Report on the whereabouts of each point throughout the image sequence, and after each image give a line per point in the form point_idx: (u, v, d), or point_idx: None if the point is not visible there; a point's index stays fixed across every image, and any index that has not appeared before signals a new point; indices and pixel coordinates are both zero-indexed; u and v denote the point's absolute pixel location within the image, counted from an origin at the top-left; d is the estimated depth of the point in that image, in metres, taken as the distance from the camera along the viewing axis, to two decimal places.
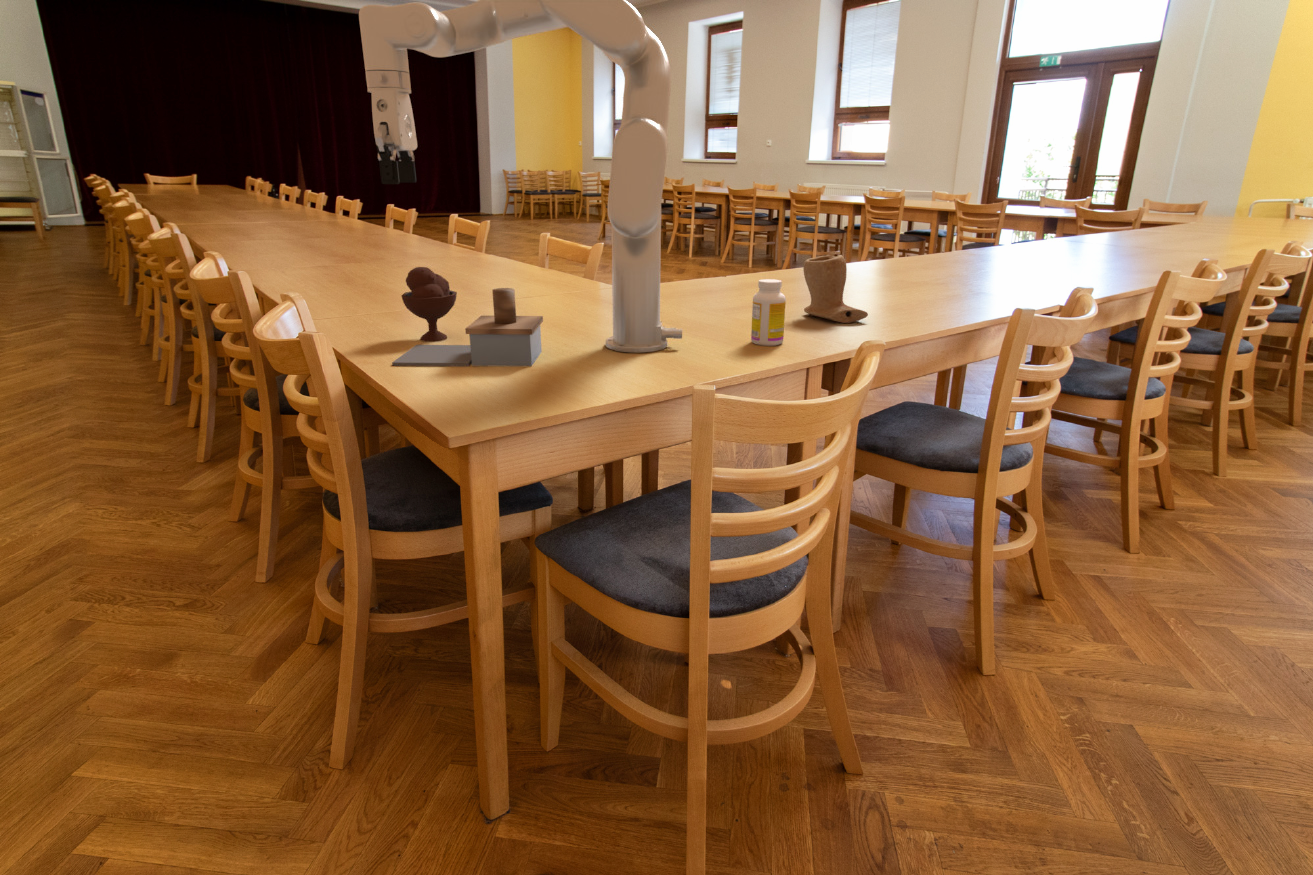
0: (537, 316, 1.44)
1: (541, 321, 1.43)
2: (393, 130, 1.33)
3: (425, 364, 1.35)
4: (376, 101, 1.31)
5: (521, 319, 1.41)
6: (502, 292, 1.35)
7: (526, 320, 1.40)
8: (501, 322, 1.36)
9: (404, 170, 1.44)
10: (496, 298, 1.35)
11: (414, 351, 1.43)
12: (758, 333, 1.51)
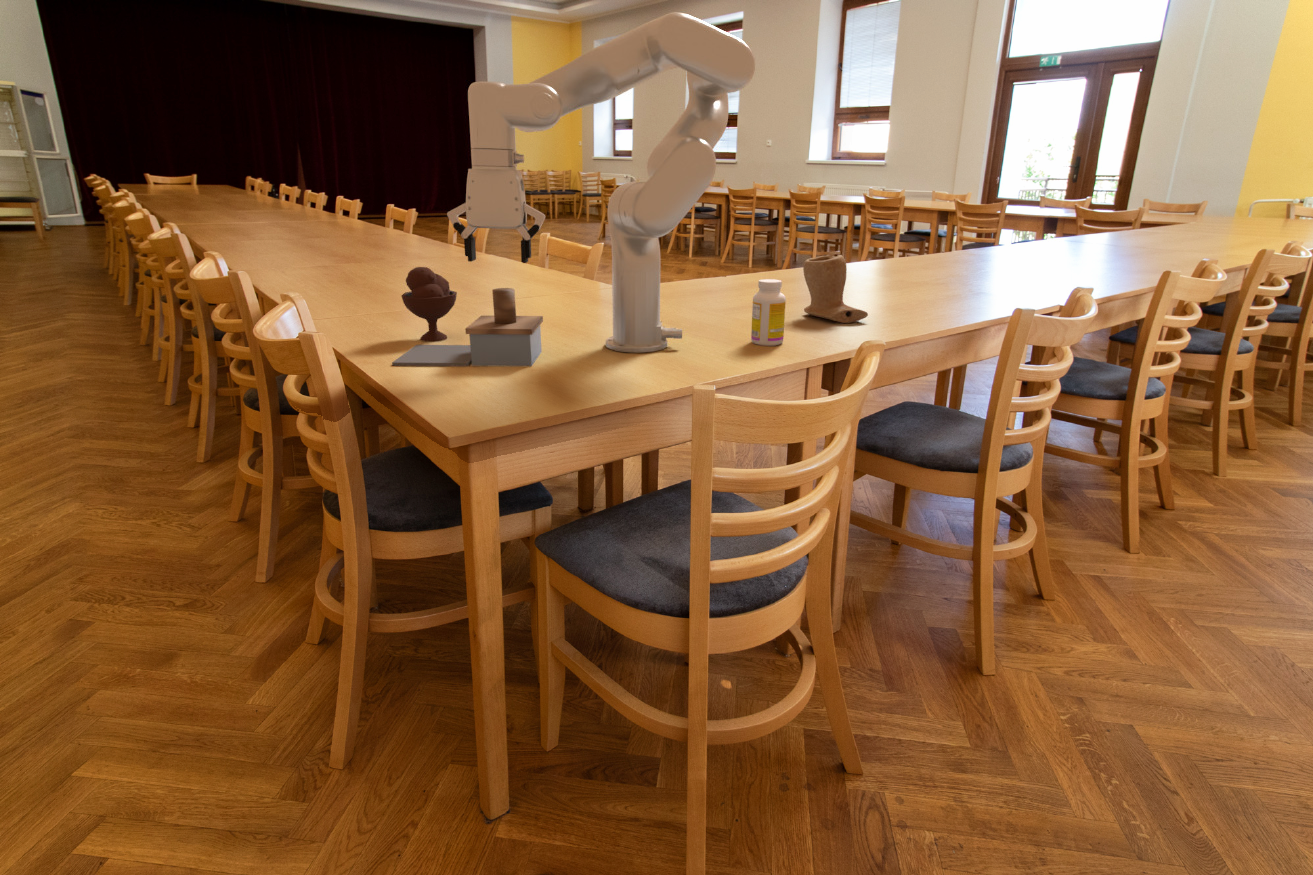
0: (537, 316, 1.44)
1: (541, 321, 1.43)
2: None
3: (425, 364, 1.35)
4: (519, 181, 1.29)
5: (521, 319, 1.41)
6: (502, 292, 1.35)
7: (526, 320, 1.40)
8: (501, 322, 1.36)
9: (473, 248, 1.33)
10: (496, 298, 1.35)
11: (414, 351, 1.43)
12: (758, 333, 1.51)
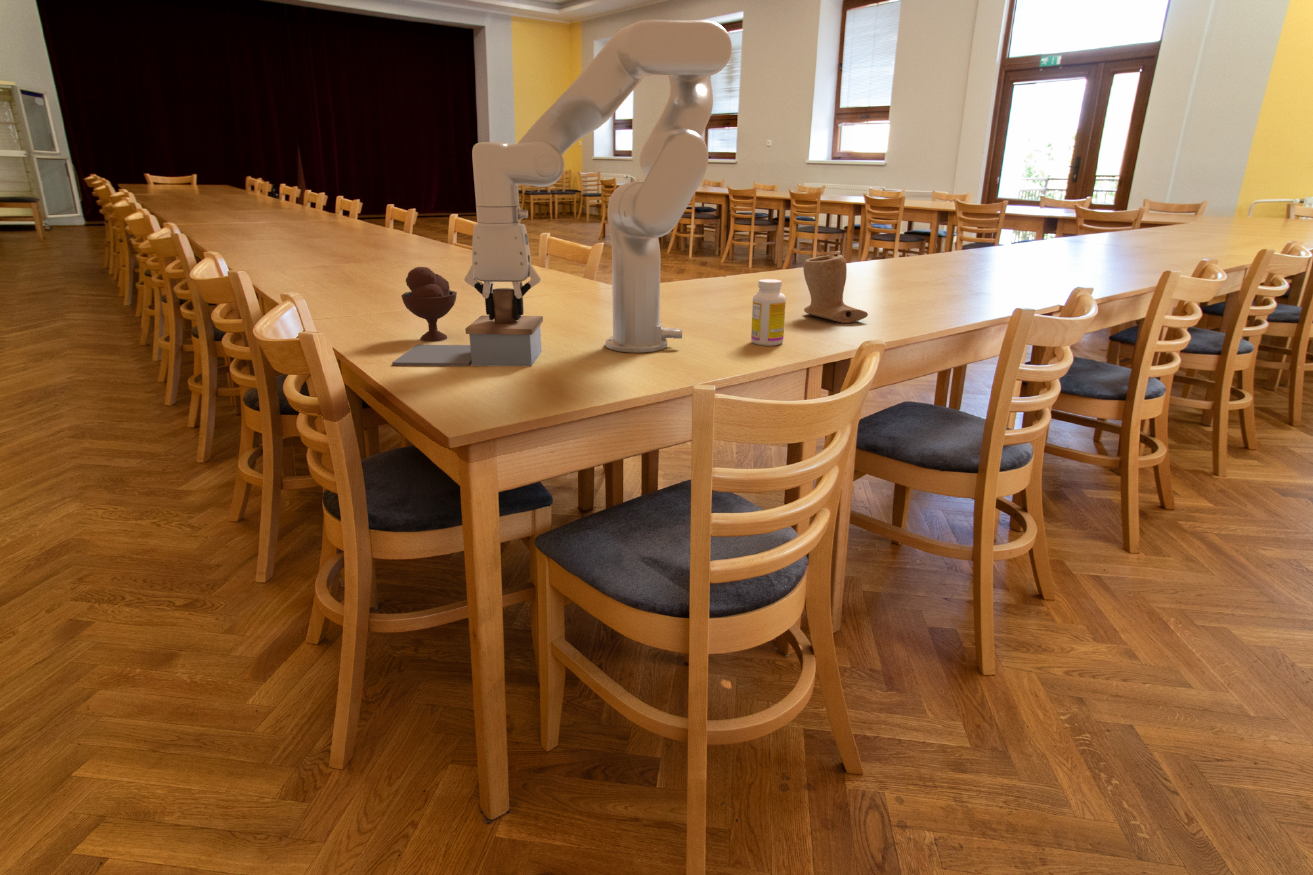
0: (537, 316, 1.44)
1: (541, 321, 1.43)
2: (530, 261, 1.36)
3: (425, 364, 1.35)
4: (524, 236, 1.32)
5: (521, 319, 1.41)
6: (502, 292, 1.35)
7: (526, 320, 1.40)
8: (501, 322, 1.36)
9: (493, 306, 1.37)
10: (496, 298, 1.35)
11: (414, 351, 1.43)
12: (758, 333, 1.51)
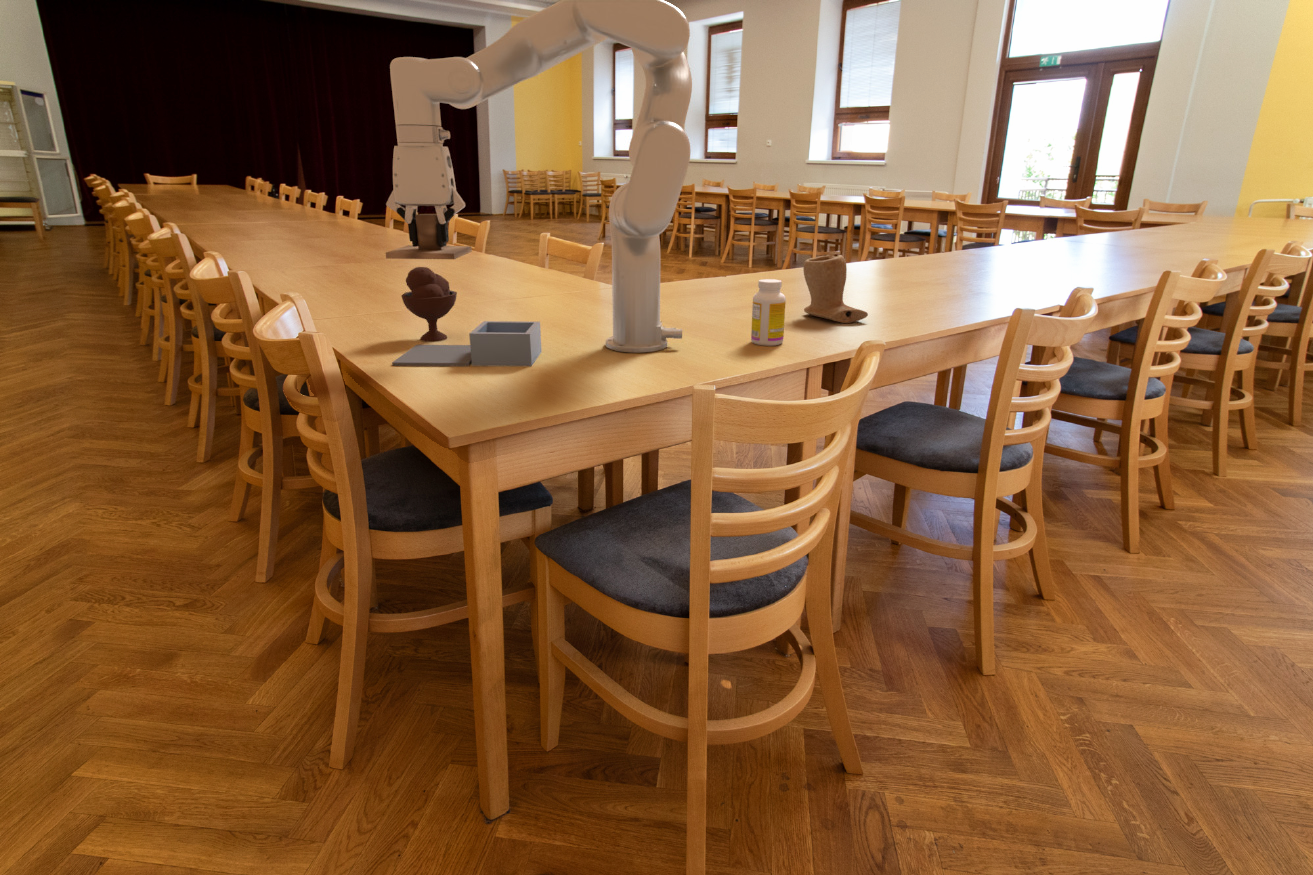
0: (465, 246, 1.40)
1: (469, 251, 1.39)
2: (455, 186, 1.33)
3: (425, 364, 1.35)
4: (446, 157, 1.28)
5: (447, 248, 1.37)
6: (424, 216, 1.31)
7: (452, 248, 1.36)
8: (424, 248, 1.33)
9: None
10: (419, 223, 1.32)
11: (414, 351, 1.43)
12: (758, 333, 1.51)
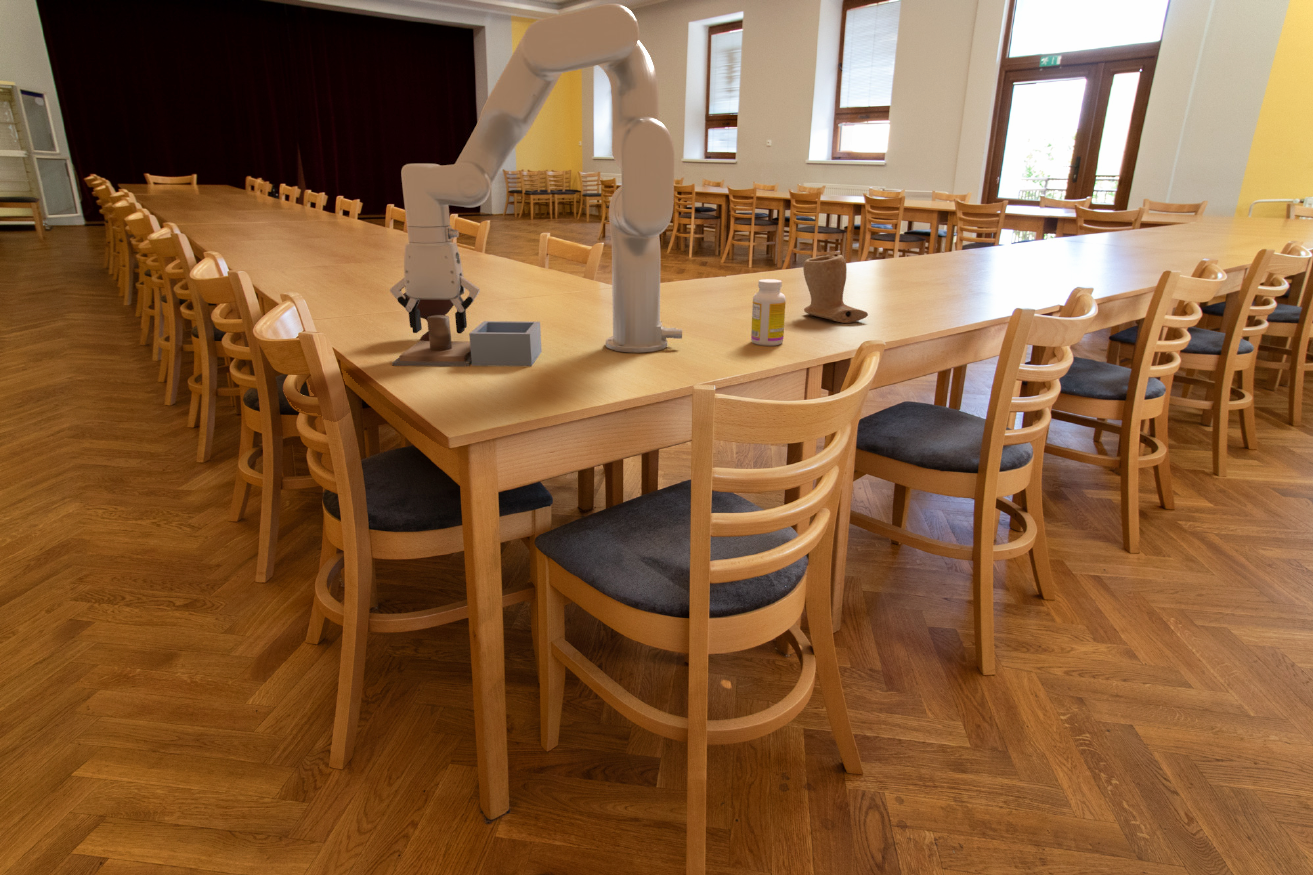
0: None
1: None
2: None
3: (425, 364, 1.35)
4: (455, 255, 1.34)
5: (457, 345, 1.44)
6: (436, 320, 1.38)
7: (462, 346, 1.43)
8: (436, 349, 1.39)
9: (417, 320, 1.39)
10: (430, 326, 1.38)
11: None
12: (758, 333, 1.51)
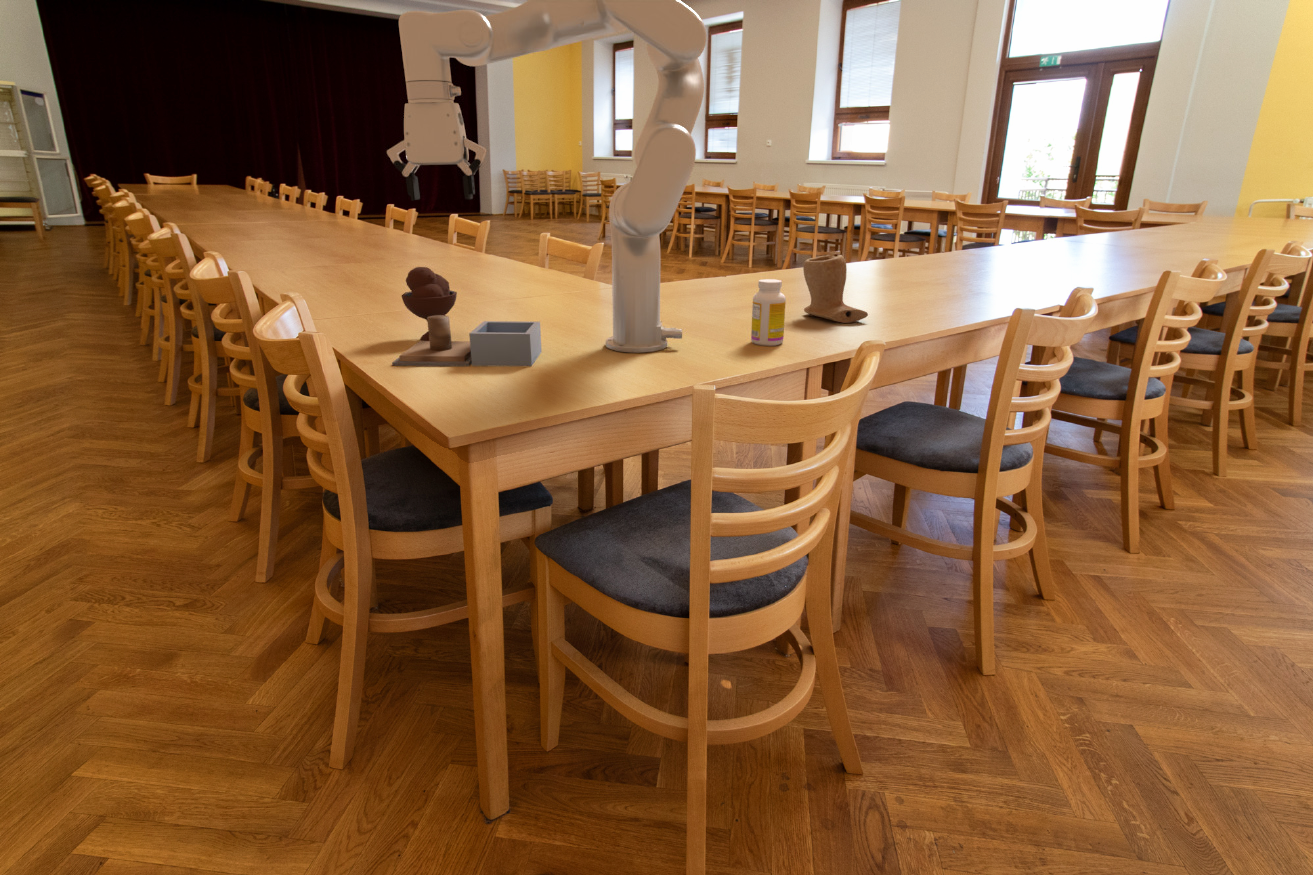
0: None
1: None
2: None
3: (425, 364, 1.35)
4: (457, 114, 1.27)
5: (457, 345, 1.44)
6: (436, 320, 1.38)
7: (462, 346, 1.43)
8: (436, 349, 1.39)
9: (415, 186, 1.32)
10: (430, 326, 1.38)
11: None
12: (758, 333, 1.51)
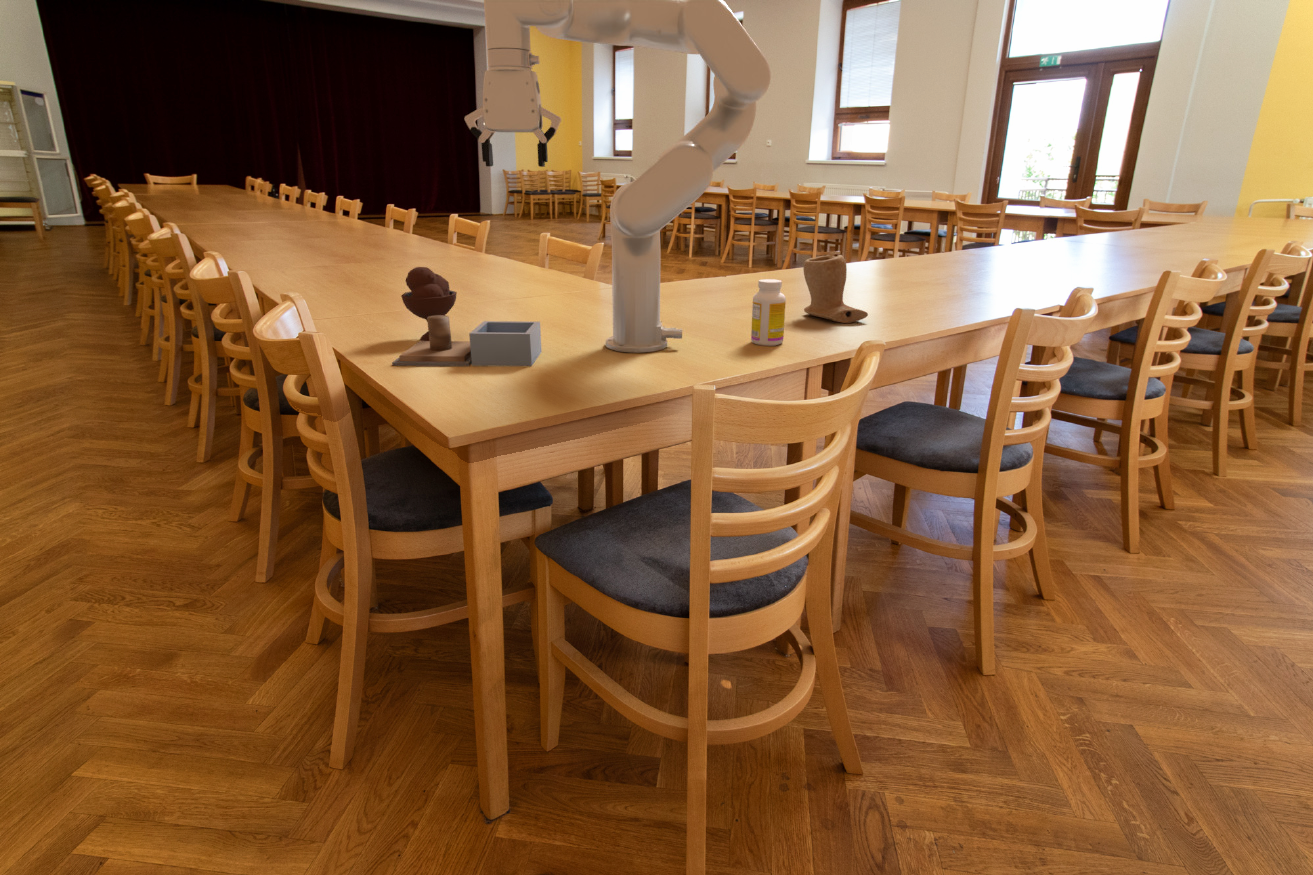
0: None
1: None
2: None
3: (425, 364, 1.35)
4: (535, 82, 1.30)
5: (457, 345, 1.44)
6: (436, 320, 1.38)
7: (462, 346, 1.43)
8: (436, 349, 1.39)
9: (490, 153, 1.35)
10: (430, 326, 1.38)
11: None
12: (758, 333, 1.51)
